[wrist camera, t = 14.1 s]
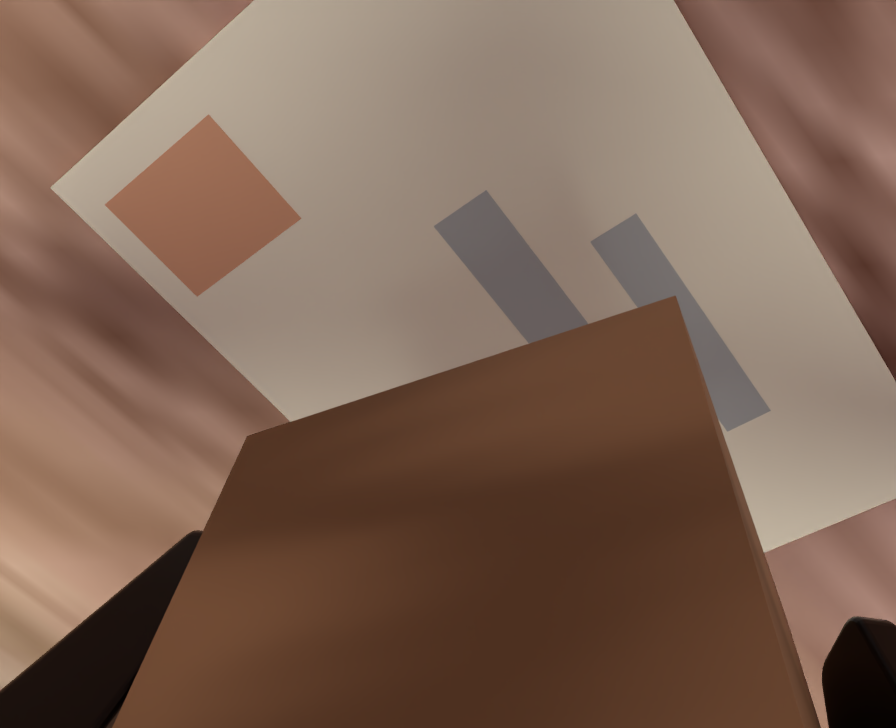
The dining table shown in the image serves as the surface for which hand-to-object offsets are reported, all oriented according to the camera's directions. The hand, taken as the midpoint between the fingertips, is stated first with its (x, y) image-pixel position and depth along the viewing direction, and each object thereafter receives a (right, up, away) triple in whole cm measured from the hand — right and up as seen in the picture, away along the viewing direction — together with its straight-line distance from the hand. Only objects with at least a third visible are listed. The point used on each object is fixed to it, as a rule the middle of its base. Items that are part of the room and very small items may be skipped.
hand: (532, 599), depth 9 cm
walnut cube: (0, +1, +1) cm, 1 cm away
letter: (0, +3, +5) cm, 6 cm away
